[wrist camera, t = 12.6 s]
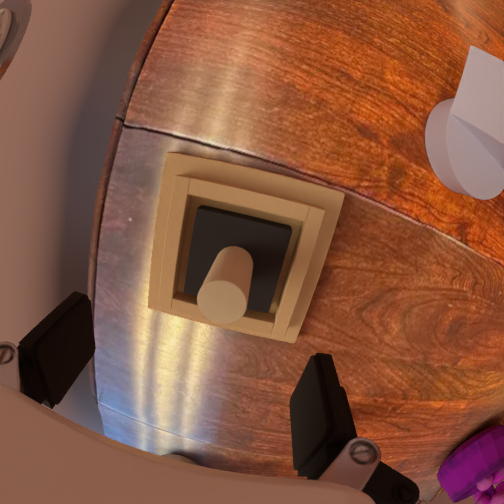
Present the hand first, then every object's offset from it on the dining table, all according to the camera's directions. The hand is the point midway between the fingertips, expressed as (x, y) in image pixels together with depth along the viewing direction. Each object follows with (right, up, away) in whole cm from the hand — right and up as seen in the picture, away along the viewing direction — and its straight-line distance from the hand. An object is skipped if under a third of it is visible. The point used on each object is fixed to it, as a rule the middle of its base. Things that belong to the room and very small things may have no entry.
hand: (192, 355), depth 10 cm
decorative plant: (+50, -38, +24) cm, 67 cm away
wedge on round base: (+23, +16, +8) cm, 28 cm away
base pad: (+1, +4, +13) cm, 14 cm away
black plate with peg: (+1, +4, +12) cm, 13 cm away
